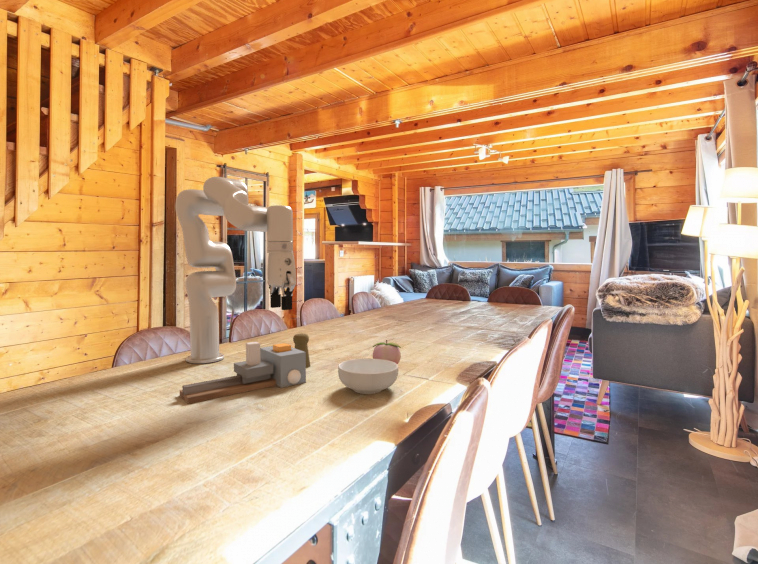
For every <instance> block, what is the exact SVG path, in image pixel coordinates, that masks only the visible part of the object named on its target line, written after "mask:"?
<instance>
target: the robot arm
mask: <svg viewBox="0 0 758 564" xmlns="http://www.w3.org/2000/svg"><path fill="white" fill-rule="evenodd" d="M175 213H176V217H177V219H178V222H179V225H180V227H181V232H182V237H183V243H184V249H185V250H184V252H185V257H186V258H185V259H186V261H187V263H188V266H190V267H192V268H195V269H197V268H199V269H207V268H214V269H215V270H201V271H200V270H199V271H194V272H192V273H190V274H188V276H187V277H186V279H185V282H184V283H185V284H184V285H185V291H186V294H187V300H188V314H189V340H190V355H188V356H186V357H185V361H186V362H187V363H189V364H209V363H215V362H219V361H221V360H222V361H223V359H224V358H225V355H224V353H222V352H220V328H219V326H220V325H219V321H220V320H219V309H218V306H217V305H216V303H215V301H214V300H213V298H219V297H220V298H221V297H229V296H231V295H233V294H234V293H235V291H236V290H237V289H236V288H237V278H236V271H235V264H234V258H233V252H232V250H231V248H230V246H229V244H227V243H225V242H222V241H213V240H211V239H210V235H209V234H210V233H209V229H208V227H207V224H206V223H205V222H204V221H203V219H202V218H201V217H200V216H199V215H204V216H213V217H215V216H216V217H221V216H222V217H223V216H224V217H225V220H226V221H227V222H228V223H230V224H231V225H232V226H234V227H235V228H237V229H239V230H242V231H245V232H260V233H261V232H262V233H266V253H267V254H268V257H267V284H268V288H269V295H270V298H269V299H270V302H269V303H270V308H271V309H273V308H274V309H275V308H280V309H281V310H282V311H291V310H293V295H294V289H295V287H296V285H297V269H296V261H295V255H294V213H293V209H292V208H291V206H289V205H288V206H287V205H280V204H279V205H278V204H277V205H268V206H267V207H266V206H259V205H249V191H248V187H247V185H246V184H245V182H243V181H242V180H240V179H235V178H229V177H223V176H211V177H208V178H207V179H206V180H205V181H204V182H203V186H202V189H194V188H193V189H191V188H190V189H189V188H188V189H183V190H182V191H180V192H179V193H178V194H177V197H176V199H175ZM281 293H282V294H281Z"/></svg>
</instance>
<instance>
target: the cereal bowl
mask: <svg viewBox="0 0 758 564" xmlns="http://www.w3.org/2000/svg"><path fill="white" fill-rule="evenodd" d="M337 373H338V379H339V380H340V382H341V383H342V384H343V385H344V386H345V387H346V388H348V389H350V390H353V392H355V393H357V394H362V395H363V394H364V395H372V394H373V395H374V394H379V393H380V392H382V391H383V390H386V389H389V388H390V387H392V386H393V385H394V384H395V383H396V381H397V378H398V375H399V365H398V364H396V363H394V362H392V361H388V360H382V359H373V358H353V359H347V360H344V361H342V362H340V363H339V364H338V366H337Z"/></svg>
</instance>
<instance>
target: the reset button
mask: <svg viewBox="0 0 758 564" xmlns="http://www.w3.org/2000/svg"><path fill="white" fill-rule="evenodd" d="M272 346H273V351H275V352H278V353H279V352H286V351H291V347H292V345H291V344H289V343H285V342H283V343H282V342H281V343H276V344H272Z"/></svg>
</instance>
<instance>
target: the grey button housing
mask: <svg viewBox="0 0 758 564" xmlns="http://www.w3.org/2000/svg"><path fill="white" fill-rule="evenodd" d="M260 359H262V360H264V361H266V362H269V363H271V364H273V372H274V373H272V378H273V379H275V380H276V385H275V386H277V387H279V388H281V389H282V388H286V387H290V386H291V387H292V386H295V385H300V384H304V383H307V368H306V352H304V351H301V350H298V349H295V347H292V346H291V351H286V352H279V353H278V352H275V351H273V345H271V346H265V347H264V346H263V347H260Z"/></svg>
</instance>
